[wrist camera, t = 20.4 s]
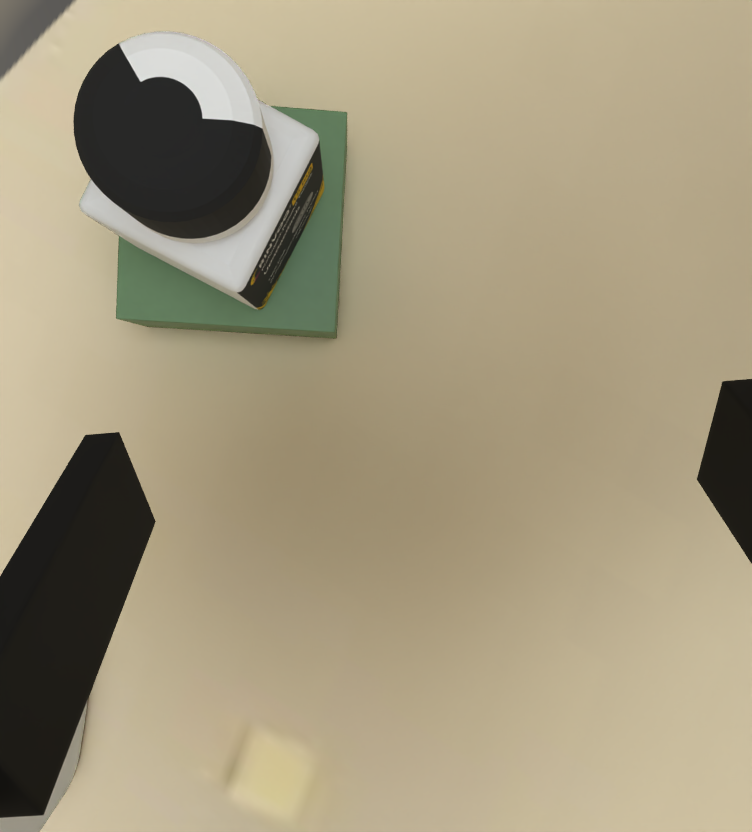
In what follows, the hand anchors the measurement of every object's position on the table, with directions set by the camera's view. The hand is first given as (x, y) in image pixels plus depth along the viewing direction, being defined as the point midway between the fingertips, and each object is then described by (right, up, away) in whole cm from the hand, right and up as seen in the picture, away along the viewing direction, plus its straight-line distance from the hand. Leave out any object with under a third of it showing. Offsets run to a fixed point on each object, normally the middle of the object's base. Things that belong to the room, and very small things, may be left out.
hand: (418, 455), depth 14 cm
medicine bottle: (-8, +11, +18) cm, 22 cm away
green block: (-8, +11, +22) cm, 26 cm away
